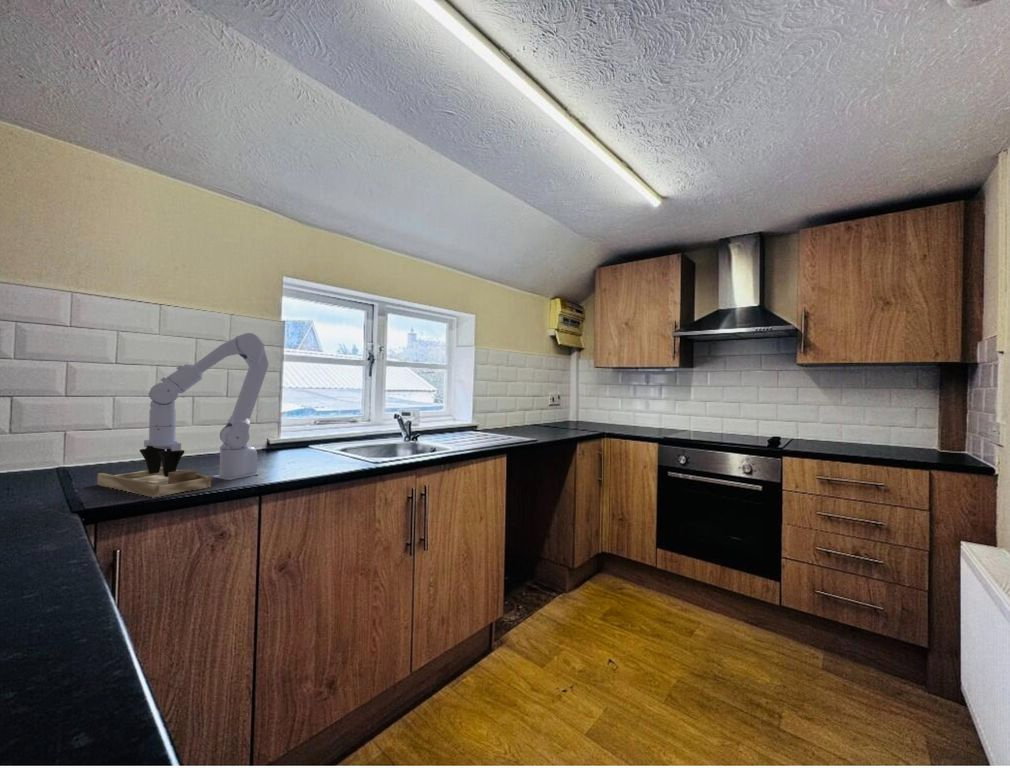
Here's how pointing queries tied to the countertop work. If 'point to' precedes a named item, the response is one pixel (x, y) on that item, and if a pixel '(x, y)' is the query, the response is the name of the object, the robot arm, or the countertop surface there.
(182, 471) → the block
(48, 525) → the countertop surface
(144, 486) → the tray
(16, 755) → the countertop surface
